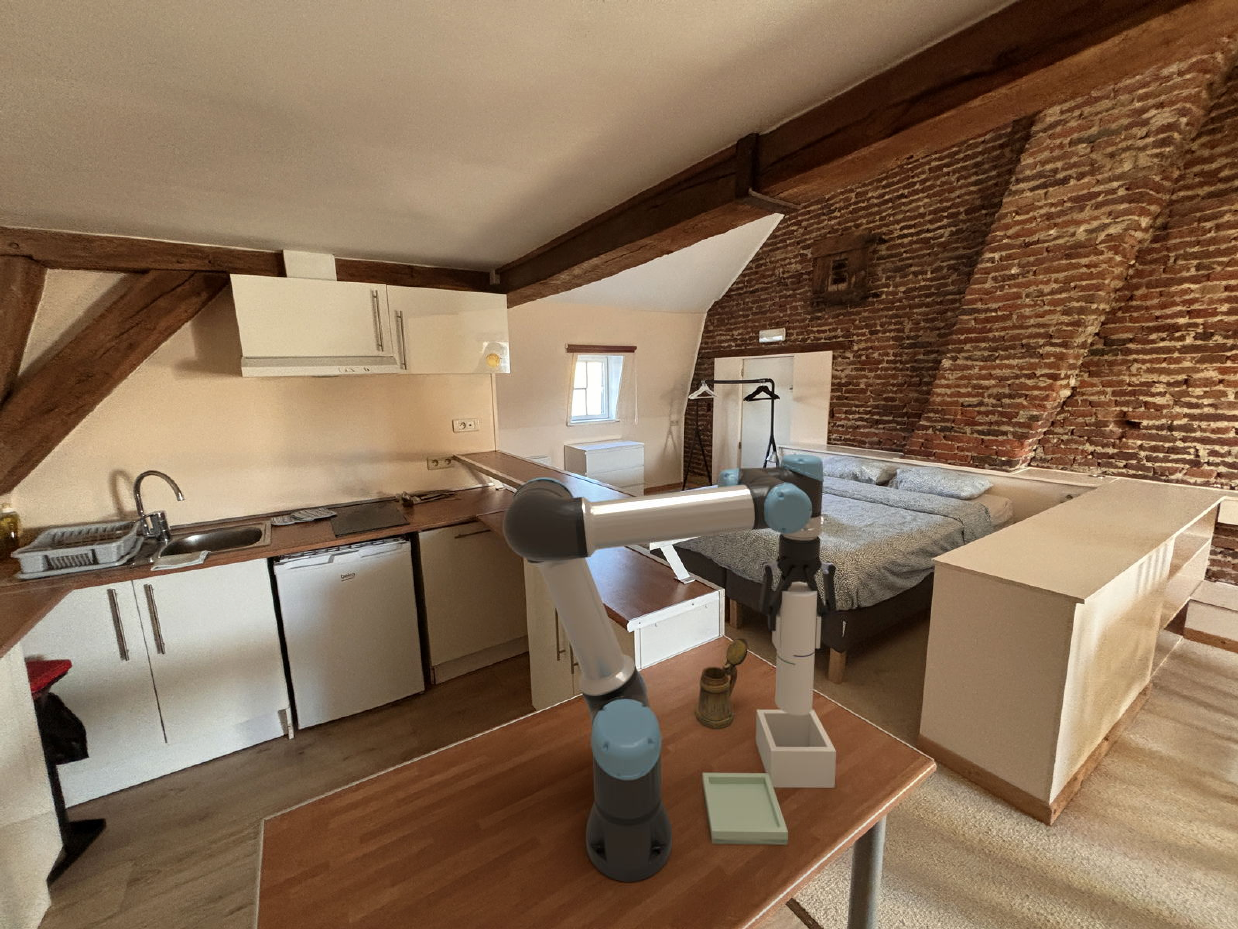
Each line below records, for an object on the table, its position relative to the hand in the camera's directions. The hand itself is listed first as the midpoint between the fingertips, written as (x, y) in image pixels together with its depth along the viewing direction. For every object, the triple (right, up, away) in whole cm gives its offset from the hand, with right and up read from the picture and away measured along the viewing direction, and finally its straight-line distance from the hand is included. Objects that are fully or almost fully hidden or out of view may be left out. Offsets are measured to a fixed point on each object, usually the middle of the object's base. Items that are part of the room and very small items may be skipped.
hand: (795, 644), depth 99 cm
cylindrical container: (0, -13, +2) cm, 13 cm away
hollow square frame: (+1, -27, +4) cm, 27 cm away
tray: (-13, -29, -7) cm, 32 cm away
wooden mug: (-10, -25, +21) cm, 34 cm away
